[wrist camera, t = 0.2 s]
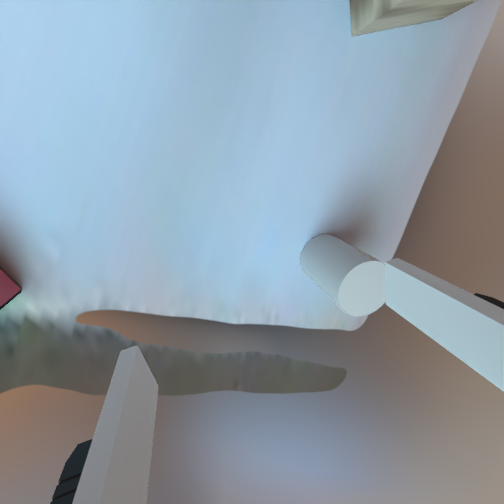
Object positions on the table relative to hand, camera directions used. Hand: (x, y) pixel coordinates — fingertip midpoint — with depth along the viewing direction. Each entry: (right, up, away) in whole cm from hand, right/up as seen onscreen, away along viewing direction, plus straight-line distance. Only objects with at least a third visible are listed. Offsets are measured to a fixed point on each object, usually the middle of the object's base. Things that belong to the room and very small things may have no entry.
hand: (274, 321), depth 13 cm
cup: (+11, +3, +32) cm, 34 cm away
